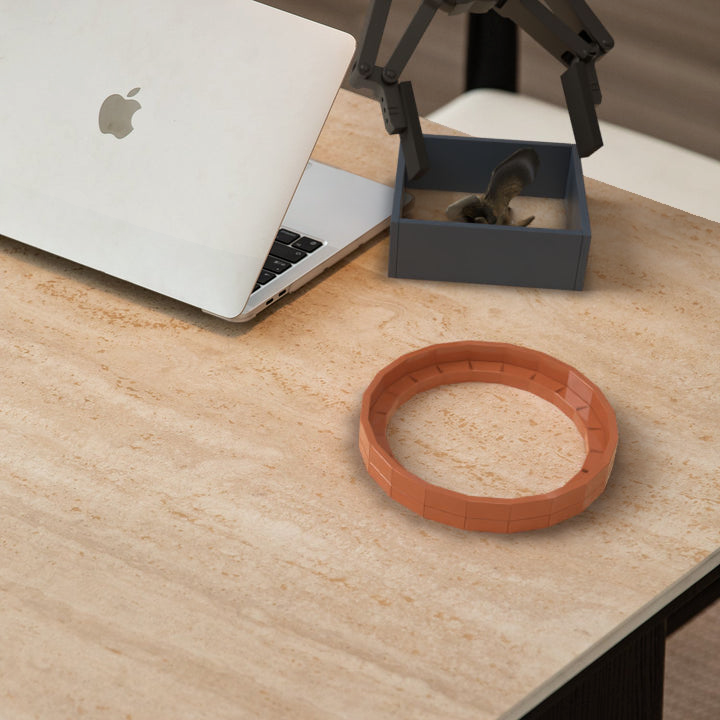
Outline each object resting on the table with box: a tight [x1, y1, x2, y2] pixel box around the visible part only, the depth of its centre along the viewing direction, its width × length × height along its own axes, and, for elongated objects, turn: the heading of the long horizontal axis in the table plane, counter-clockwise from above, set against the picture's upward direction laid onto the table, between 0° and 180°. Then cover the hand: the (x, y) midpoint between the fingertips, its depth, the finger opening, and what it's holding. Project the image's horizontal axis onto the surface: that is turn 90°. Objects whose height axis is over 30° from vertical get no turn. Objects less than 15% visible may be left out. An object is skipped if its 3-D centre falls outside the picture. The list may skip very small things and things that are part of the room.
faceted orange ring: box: [358, 339, 620, 534], centre depth 76 cm, size 15×15×3 cm
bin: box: [387, 133, 593, 292], centre depth 95 cm, size 14×14×6 cm
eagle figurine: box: [445, 147, 540, 227], centre depth 95 cm, size 8×7×9 cm
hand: (507, 164), depth 90 cm, fingers open, 13 cm apart
